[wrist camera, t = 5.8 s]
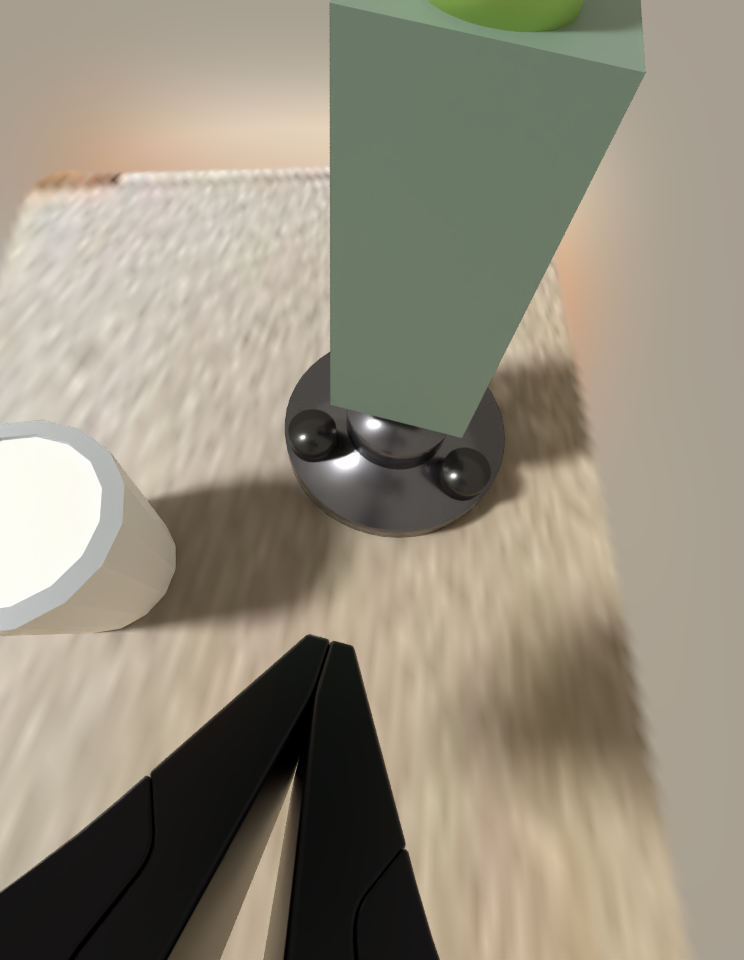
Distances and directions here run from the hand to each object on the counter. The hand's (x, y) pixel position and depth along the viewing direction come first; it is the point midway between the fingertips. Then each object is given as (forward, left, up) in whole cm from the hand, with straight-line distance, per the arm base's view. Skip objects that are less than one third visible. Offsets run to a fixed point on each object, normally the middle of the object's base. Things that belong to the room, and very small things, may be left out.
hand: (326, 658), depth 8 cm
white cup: (-1, +11, -12) cm, 16 cm away
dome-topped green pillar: (+11, +2, -9) cm, 15 cm away
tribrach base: (+11, +2, -12) cm, 17 cm away
